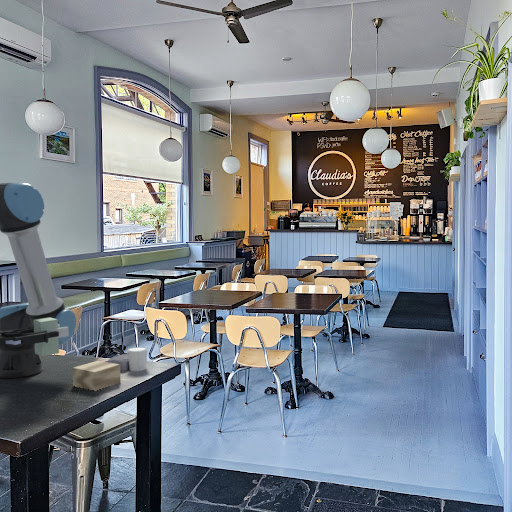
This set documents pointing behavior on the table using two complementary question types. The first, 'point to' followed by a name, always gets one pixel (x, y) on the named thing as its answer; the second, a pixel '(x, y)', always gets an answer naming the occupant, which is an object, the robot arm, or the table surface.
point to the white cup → (137, 358)
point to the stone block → (120, 361)
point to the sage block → (52, 344)
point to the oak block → (96, 375)
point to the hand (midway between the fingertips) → (63, 330)
